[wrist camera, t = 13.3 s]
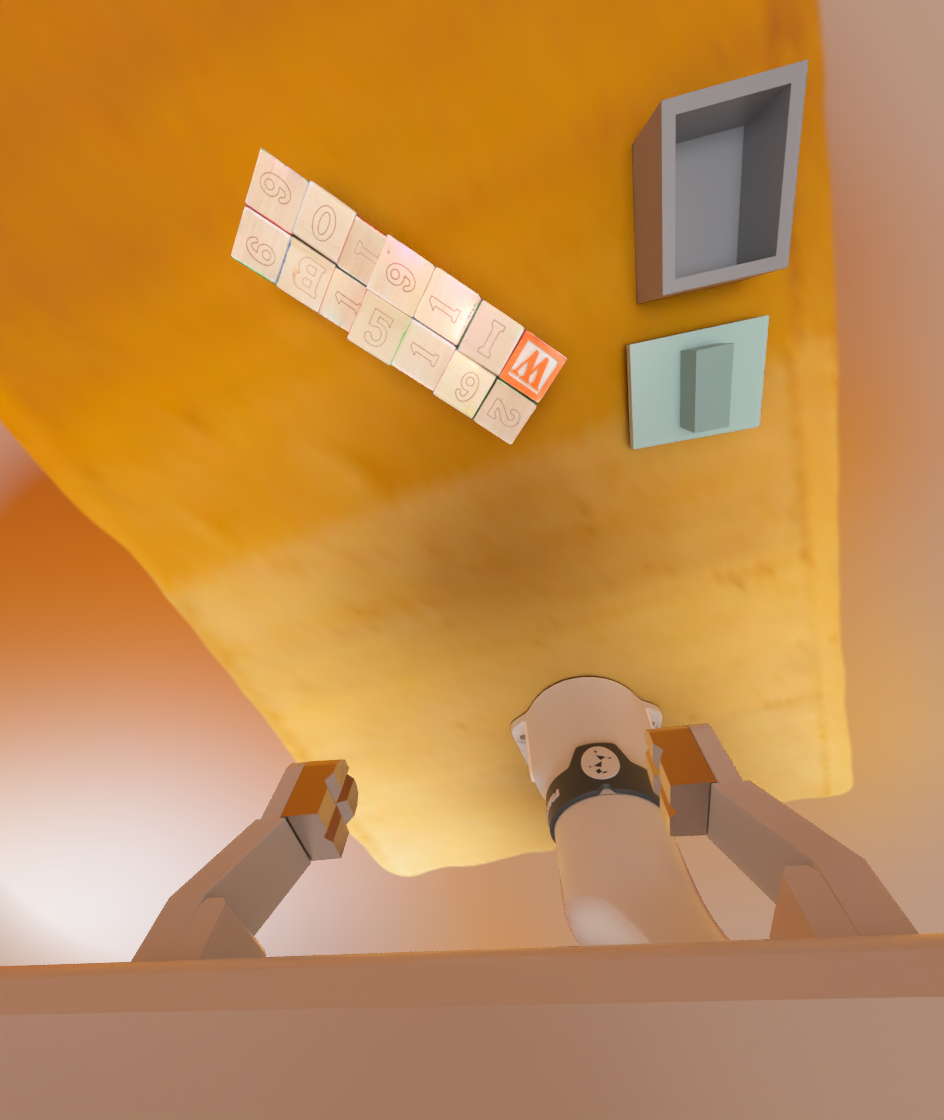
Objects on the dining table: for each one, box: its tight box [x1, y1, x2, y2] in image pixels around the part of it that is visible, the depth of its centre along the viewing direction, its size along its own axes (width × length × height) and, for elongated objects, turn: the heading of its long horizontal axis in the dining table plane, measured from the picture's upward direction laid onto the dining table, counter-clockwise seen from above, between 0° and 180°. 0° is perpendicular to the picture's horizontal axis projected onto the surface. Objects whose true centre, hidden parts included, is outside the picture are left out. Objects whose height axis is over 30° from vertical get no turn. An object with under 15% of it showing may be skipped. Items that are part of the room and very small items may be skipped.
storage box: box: [632, 60, 808, 304], centre depth 30 cm, size 10×8×6 cm
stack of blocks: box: [231, 148, 567, 445], centre depth 31 cm, size 21×6×12 cm, turn 58°
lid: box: [626, 315, 769, 449], centre depth 35 cm, size 10×8×5 cm
